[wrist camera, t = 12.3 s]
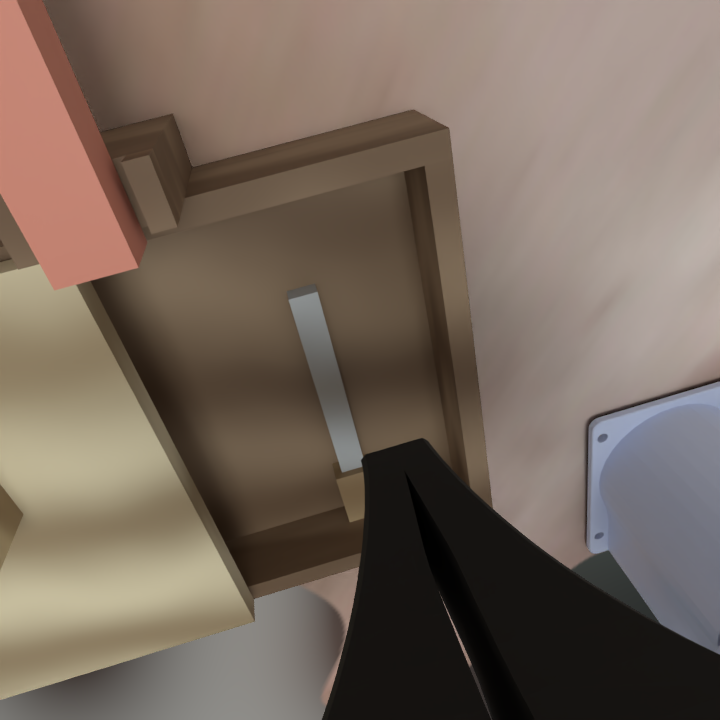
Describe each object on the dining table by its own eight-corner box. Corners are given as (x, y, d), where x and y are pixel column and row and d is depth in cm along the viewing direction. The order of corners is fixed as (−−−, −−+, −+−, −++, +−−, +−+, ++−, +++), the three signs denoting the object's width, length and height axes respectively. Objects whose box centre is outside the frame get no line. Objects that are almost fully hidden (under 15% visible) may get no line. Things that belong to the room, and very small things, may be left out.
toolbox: (465, 469, 27) (518, 572, 22) (87, 582, 26) (52, 717, 21) (405, 53, 17) (476, 69, 12) (-198, 208, 16) (-384, 293, 11)
